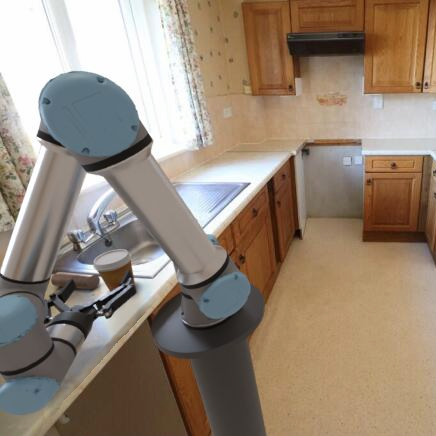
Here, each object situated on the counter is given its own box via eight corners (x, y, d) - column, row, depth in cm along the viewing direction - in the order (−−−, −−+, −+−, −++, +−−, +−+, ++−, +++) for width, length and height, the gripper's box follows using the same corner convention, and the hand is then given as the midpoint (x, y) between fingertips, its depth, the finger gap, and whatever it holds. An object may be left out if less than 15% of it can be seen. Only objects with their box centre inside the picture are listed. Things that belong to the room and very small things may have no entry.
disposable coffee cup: (148, 282, 101) (137, 249, 96) (126, 301, 93) (112, 266, 88) (121, 280, 103) (109, 247, 98) (97, 299, 94) (83, 264, 89)
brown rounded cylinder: (101, 283, 102) (97, 272, 100) (90, 292, 98) (84, 280, 96) (67, 280, 104) (61, 269, 102) (54, 289, 100) (48, 277, 98)
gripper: (2, 363, 66) (54, 299, 84) (135, 336, 71) (156, 281, 90) (-17, 336, 62) (41, 275, 81) (124, 309, 68) (148, 258, 86)
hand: (102, 278), depth 85 cm, fingers open, 13 cm apart
